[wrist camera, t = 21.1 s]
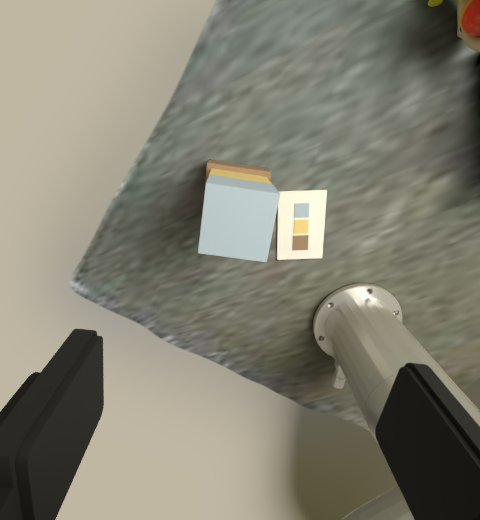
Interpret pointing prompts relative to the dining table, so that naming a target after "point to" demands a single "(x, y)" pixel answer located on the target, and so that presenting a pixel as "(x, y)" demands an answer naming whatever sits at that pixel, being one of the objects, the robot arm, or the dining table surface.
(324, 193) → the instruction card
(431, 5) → the bird rattle
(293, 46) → the dining table surface
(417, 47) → the dining table surface
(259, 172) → the base brick
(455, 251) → the dining table surface
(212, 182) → the bluegrey brick
